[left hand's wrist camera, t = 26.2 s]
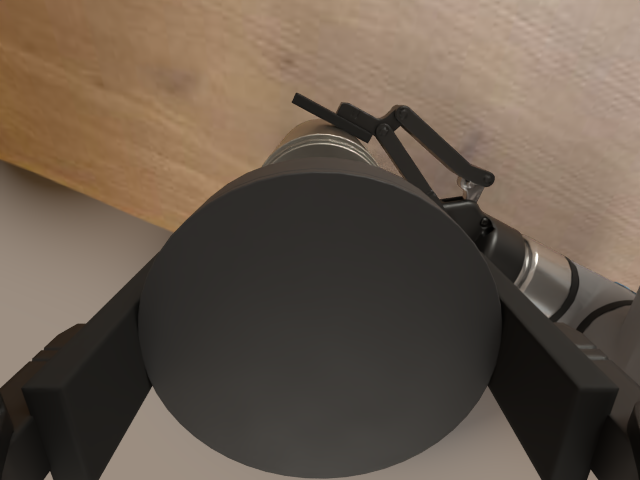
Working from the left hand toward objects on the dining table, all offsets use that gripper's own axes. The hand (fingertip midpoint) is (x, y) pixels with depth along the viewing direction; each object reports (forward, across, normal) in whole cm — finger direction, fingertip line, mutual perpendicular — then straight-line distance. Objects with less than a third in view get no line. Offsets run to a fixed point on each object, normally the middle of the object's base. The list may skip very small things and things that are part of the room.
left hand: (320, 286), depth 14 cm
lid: (-3, 0, 0) cm, 3 cm away
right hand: (+19, -4, +2) cm, 20 cm away
